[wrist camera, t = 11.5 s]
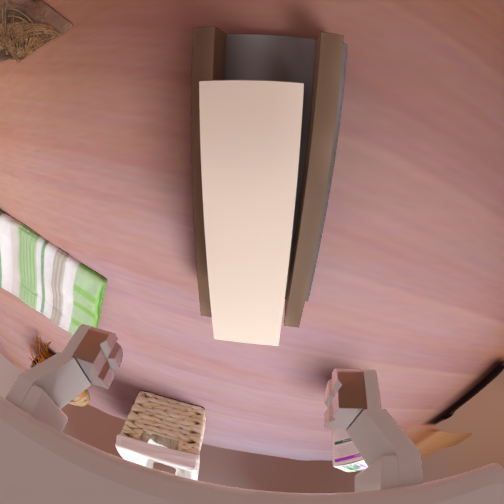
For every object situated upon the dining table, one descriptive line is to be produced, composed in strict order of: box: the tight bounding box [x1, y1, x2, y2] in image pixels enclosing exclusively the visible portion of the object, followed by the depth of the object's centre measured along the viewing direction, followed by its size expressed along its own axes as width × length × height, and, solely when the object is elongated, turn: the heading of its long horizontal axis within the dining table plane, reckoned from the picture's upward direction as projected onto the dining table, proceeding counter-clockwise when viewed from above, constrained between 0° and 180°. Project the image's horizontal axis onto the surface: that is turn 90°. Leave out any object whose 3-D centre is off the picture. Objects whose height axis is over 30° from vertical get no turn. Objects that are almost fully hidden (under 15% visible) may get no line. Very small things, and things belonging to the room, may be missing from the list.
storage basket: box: [115, 391, 206, 480], centre depth 52 cm, size 24×16×15 cm
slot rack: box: [191, 26, 348, 327], centre depth 24 cm, size 12×26×5 cm, turn 177°
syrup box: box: [332, 429, 368, 472], centre depth 37 cm, size 6×6×14 cm
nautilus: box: [29, 339, 90, 406], centre depth 51 cm, size 8×22×15 cm
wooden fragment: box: [0, 0, 73, 62], centre depth 16 cm, size 26×11×1 cm, turn 58°
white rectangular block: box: [199, 80, 304, 346], centre depth 21 cm, size 5×18×10 cm, turn 179°
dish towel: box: [0, 210, 107, 335], centre depth 37 cm, size 17×23×4 cm
